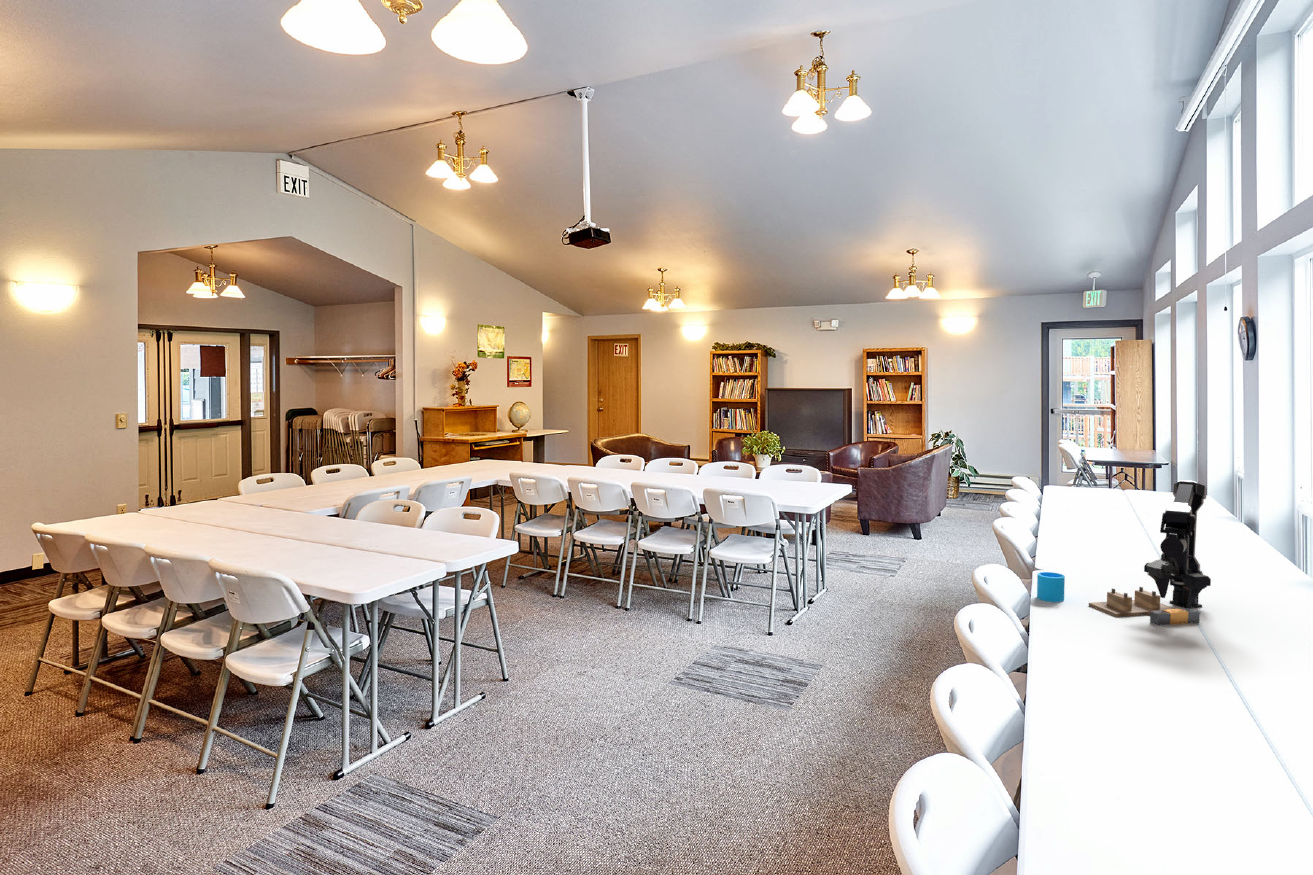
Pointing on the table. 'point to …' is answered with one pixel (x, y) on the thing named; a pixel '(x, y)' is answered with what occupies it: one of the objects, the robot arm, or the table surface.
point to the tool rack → (1130, 603)
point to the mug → (1050, 586)
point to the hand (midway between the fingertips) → (1175, 601)
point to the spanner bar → (1174, 616)
